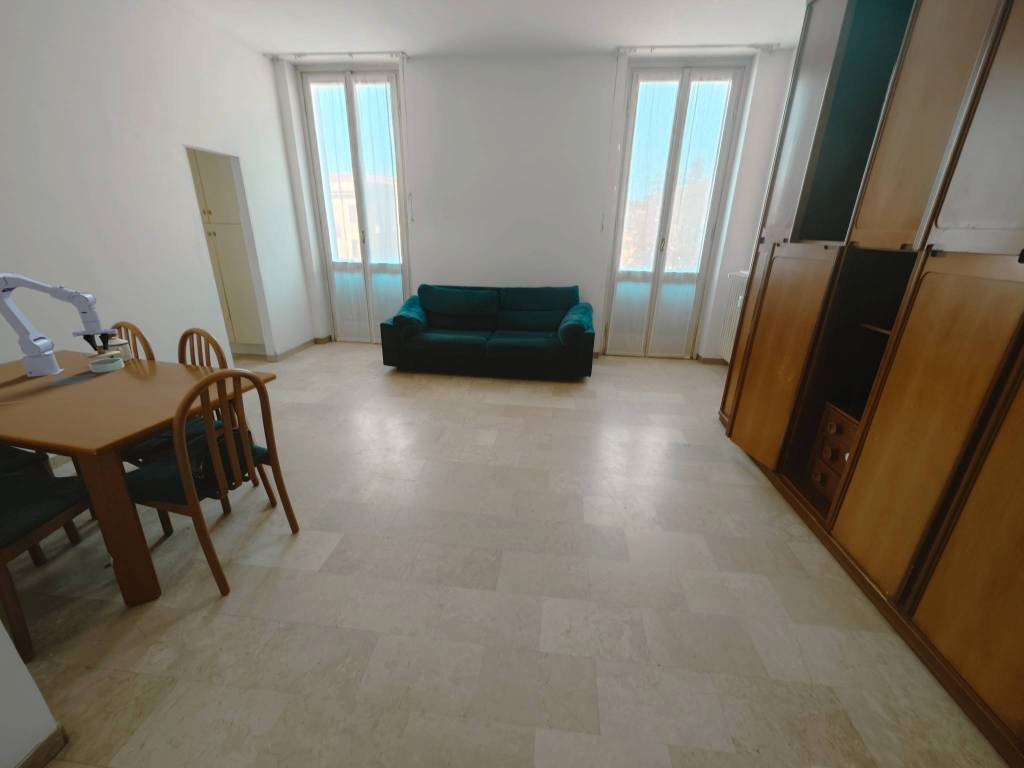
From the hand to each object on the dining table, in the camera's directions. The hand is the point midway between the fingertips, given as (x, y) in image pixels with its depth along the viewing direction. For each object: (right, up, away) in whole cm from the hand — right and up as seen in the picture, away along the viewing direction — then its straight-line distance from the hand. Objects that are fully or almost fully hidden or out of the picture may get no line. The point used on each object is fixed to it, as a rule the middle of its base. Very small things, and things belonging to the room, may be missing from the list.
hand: (101, 350), depth 183 cm
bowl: (0, -9, +3) cm, 9 cm away
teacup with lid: (-6, -4, +16) cm, 18 cm away
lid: (0, -2, 0) cm, 2 cm away
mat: (-1, -14, -11) cm, 18 cm away
